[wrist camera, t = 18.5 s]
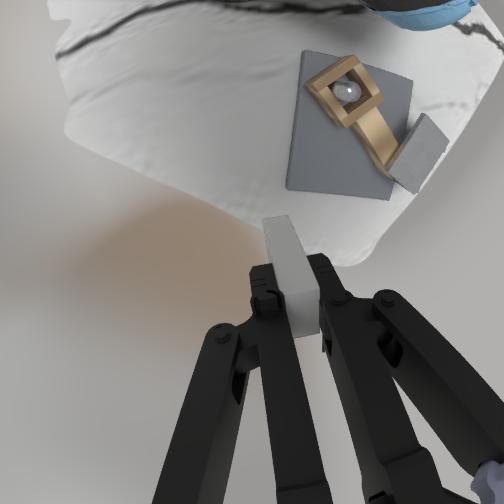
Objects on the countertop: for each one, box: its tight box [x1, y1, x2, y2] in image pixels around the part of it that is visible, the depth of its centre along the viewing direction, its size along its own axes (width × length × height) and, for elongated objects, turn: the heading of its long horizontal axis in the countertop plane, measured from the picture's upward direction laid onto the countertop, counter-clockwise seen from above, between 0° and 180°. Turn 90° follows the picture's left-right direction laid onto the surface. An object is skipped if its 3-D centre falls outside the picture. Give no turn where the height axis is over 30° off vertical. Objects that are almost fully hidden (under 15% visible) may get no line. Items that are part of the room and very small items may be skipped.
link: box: [304, 54, 399, 179], centre depth 33 cm, size 17×7×4 cm, turn 41°
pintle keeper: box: [327, 81, 450, 195], centre depth 33 cm, size 13×19×8 cm
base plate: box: [286, 50, 413, 201], centre depth 36 cm, size 20×17×2 cm
